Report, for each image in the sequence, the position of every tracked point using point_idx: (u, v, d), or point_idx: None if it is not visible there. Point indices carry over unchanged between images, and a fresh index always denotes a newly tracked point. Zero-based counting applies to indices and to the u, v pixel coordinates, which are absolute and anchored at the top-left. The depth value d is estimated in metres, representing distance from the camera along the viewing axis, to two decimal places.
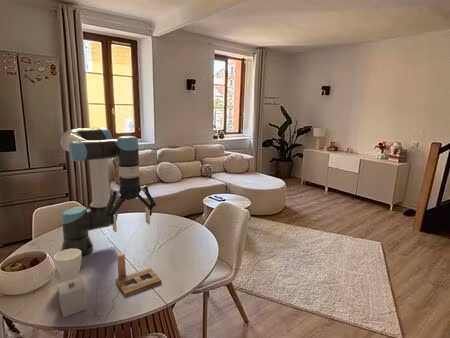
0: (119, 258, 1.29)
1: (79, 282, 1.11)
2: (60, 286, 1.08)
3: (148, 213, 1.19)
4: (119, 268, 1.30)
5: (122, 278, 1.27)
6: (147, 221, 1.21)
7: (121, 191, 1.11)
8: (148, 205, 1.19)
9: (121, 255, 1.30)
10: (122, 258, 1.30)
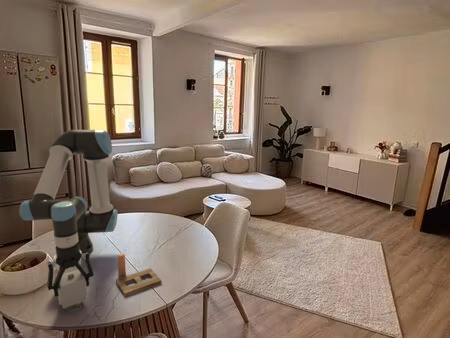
0: (119, 258, 1.29)
1: (79, 274, 1.11)
2: None
3: None
4: (119, 268, 1.30)
5: (122, 278, 1.27)
6: None
7: (57, 262, 1.04)
8: (85, 275, 1.11)
9: (121, 255, 1.30)
10: (122, 258, 1.30)
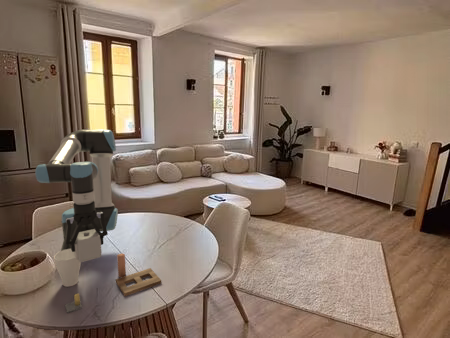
0: (119, 258, 1.29)
1: (94, 232, 1.18)
2: None
3: None
4: (119, 268, 1.30)
5: (122, 278, 1.27)
6: None
7: (75, 218, 1.11)
8: (100, 234, 1.18)
9: (121, 255, 1.30)
10: (122, 258, 1.30)
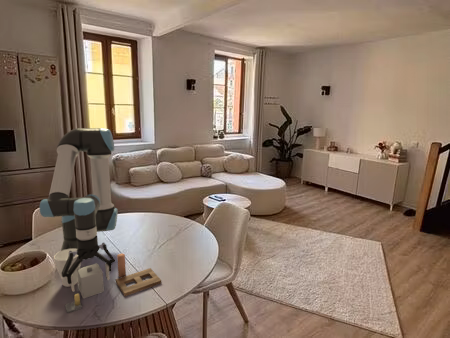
0: (119, 258, 1.29)
1: (96, 267, 1.21)
2: (79, 271, 1.19)
3: (107, 269, 1.23)
4: (119, 268, 1.30)
5: (122, 278, 1.27)
6: (107, 276, 1.24)
7: (78, 252, 1.14)
8: (107, 262, 1.22)
9: (121, 255, 1.30)
10: (122, 258, 1.30)
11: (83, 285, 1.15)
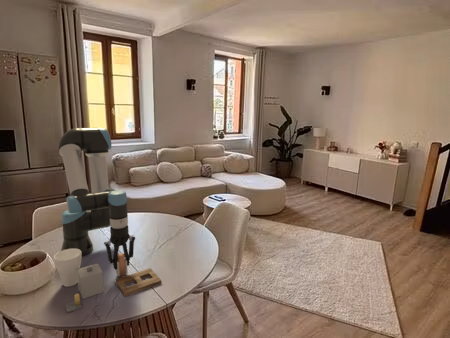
0: (119, 258, 1.29)
1: (96, 267, 1.21)
2: (79, 271, 1.19)
3: (125, 264, 1.31)
4: (119, 268, 1.30)
5: (122, 278, 1.27)
6: (125, 271, 1.33)
7: (111, 240, 1.26)
8: (127, 256, 1.31)
9: (121, 255, 1.30)
10: (122, 258, 1.30)
11: (83, 285, 1.15)
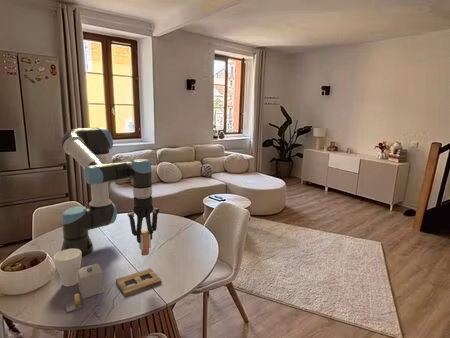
0: (143, 235, 1.23)
1: (96, 267, 1.21)
2: (79, 271, 1.19)
3: (149, 237, 1.25)
4: (143, 246, 1.24)
5: (122, 278, 1.27)
6: None
7: (135, 211, 1.19)
8: (150, 229, 1.25)
9: (145, 232, 1.24)
10: (146, 235, 1.24)
11: (83, 285, 1.15)
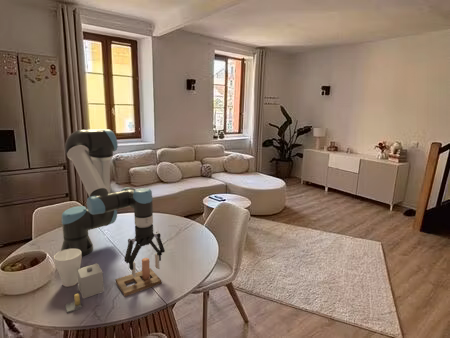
0: (144, 263, 1.26)
1: (96, 267, 1.21)
2: (79, 271, 1.19)
3: (158, 259, 1.29)
4: (144, 273, 1.27)
5: (122, 278, 1.27)
6: (156, 266, 1.31)
7: (136, 239, 1.22)
8: (158, 251, 1.29)
9: (146, 259, 1.27)
10: (147, 263, 1.26)
11: (83, 285, 1.15)
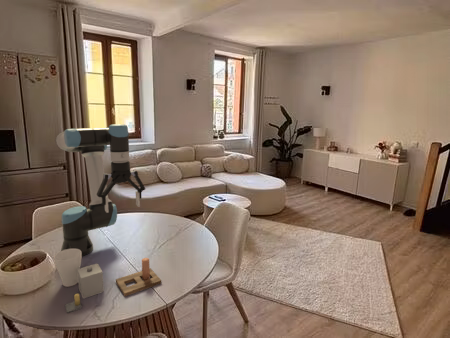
0: (144, 263, 1.26)
1: (96, 267, 1.21)
2: (79, 271, 1.19)
3: (138, 196, 1.29)
4: (144, 273, 1.27)
5: (122, 278, 1.27)
6: (137, 204, 1.31)
7: (112, 175, 1.21)
8: (138, 188, 1.29)
9: (146, 259, 1.27)
10: (147, 263, 1.26)
11: (83, 285, 1.15)
